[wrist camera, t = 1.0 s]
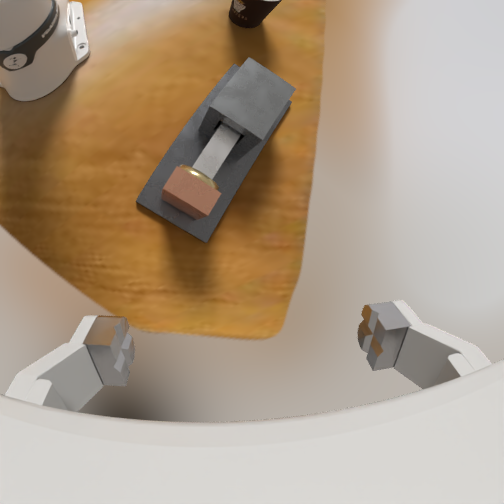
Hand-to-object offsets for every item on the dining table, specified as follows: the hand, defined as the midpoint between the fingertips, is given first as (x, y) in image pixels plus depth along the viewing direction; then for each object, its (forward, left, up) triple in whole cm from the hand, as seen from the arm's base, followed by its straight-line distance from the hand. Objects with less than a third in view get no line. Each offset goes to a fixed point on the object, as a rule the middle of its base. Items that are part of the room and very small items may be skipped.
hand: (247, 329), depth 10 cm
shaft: (-13, +7, -34) cm, 37 cm away
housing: (-17, +10, -36) cm, 41 cm away
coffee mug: (-45, +18, -36) cm, 60 cm away
